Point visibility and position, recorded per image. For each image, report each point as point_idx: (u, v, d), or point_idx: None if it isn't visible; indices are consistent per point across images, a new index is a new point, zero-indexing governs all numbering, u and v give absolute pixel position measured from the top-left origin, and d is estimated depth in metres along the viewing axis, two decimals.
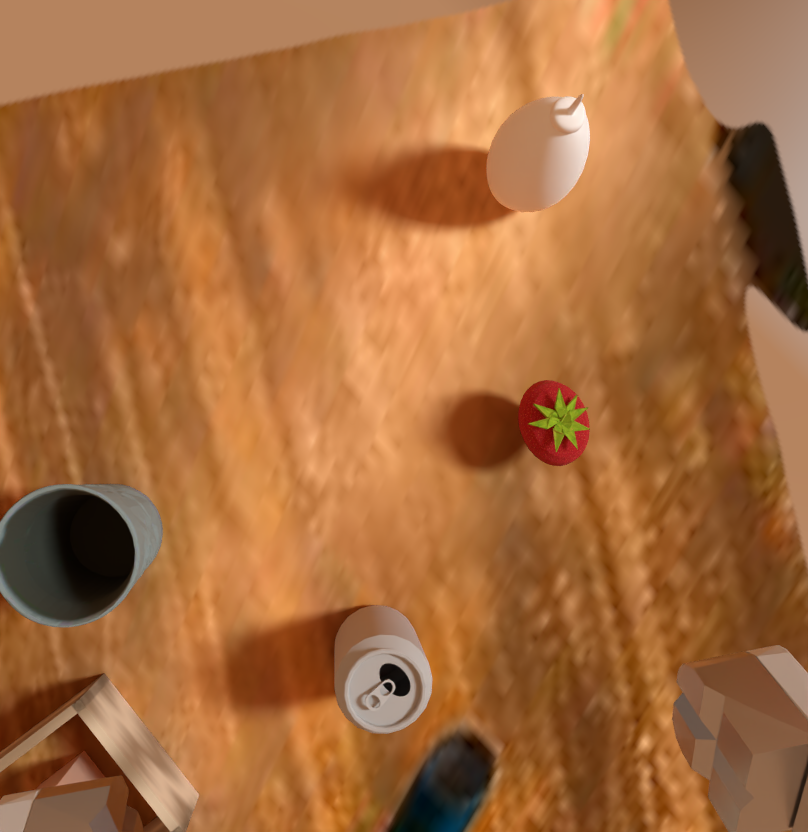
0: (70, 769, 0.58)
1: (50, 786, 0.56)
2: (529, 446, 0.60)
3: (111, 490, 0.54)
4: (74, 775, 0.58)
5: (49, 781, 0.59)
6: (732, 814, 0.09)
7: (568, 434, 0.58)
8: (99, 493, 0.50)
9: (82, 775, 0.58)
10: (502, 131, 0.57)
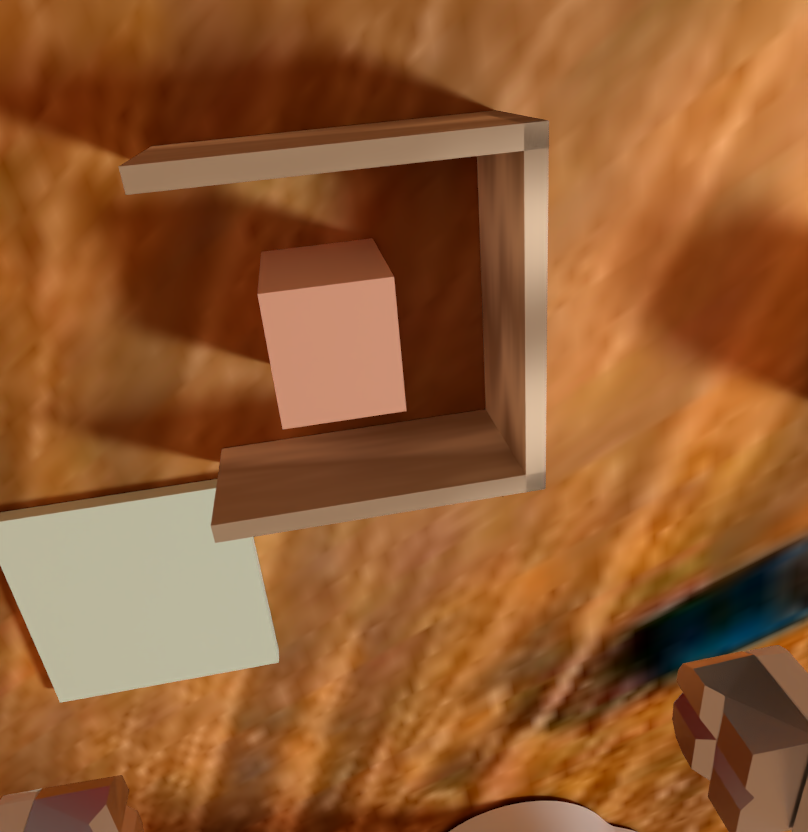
0: (383, 260, 0.26)
1: (350, 270, 0.24)
2: None
3: None
4: None
5: (309, 258, 0.26)
6: (732, 815, 0.09)
7: None
8: None
9: None
10: None
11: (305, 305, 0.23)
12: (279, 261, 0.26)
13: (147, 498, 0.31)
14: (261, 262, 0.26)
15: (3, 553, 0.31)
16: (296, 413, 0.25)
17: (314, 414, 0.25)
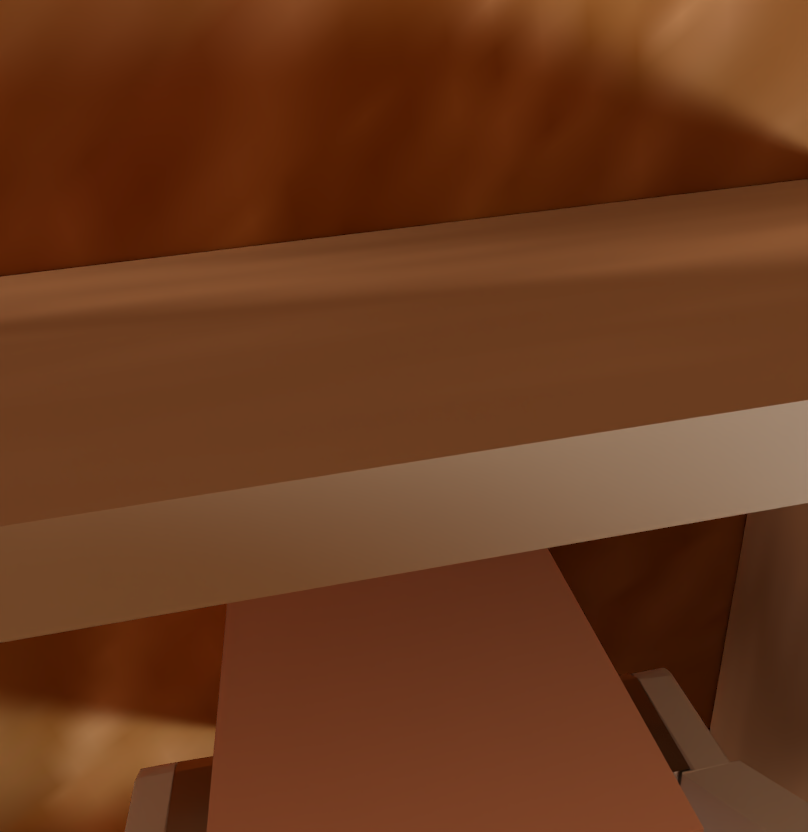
0: (588, 628, 0.09)
1: (513, 726, 0.07)
2: None
3: None
4: None
5: (365, 588, 0.10)
6: None
7: None
8: None
9: None
10: None
11: None
12: (279, 601, 0.09)
13: None
14: None
15: None
16: None
17: None
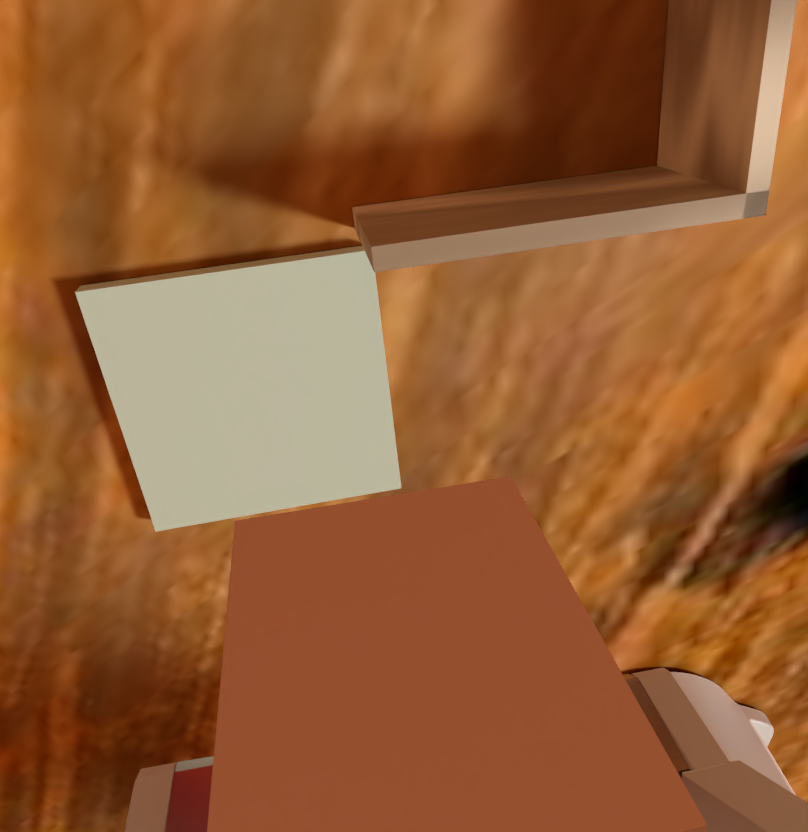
0: (590, 625, 0.09)
1: (515, 723, 0.07)
2: None
3: None
4: None
5: (366, 585, 0.10)
6: None
7: None
8: None
9: None
10: None
11: None
12: (280, 598, 0.09)
13: (266, 264, 0.26)
14: (231, 597, 0.10)
15: (97, 332, 0.26)
16: None
17: None
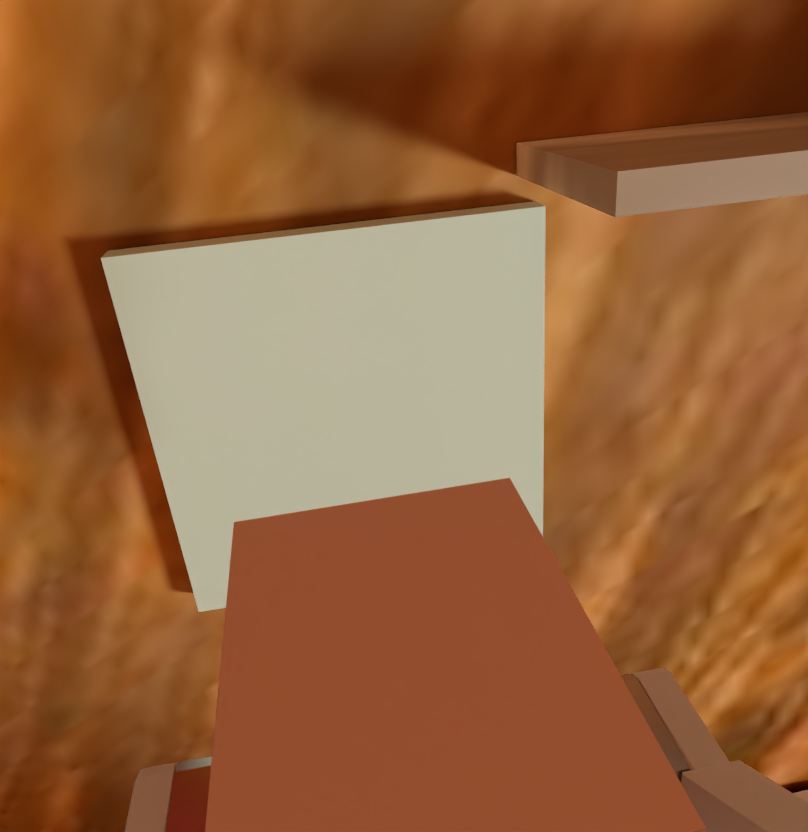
0: (589, 627, 0.09)
1: (514, 725, 0.07)
2: None
3: None
4: None
5: (365, 587, 0.09)
6: None
7: None
8: None
9: None
10: None
11: None
12: (279, 599, 0.09)
13: (389, 224, 0.17)
14: (230, 599, 0.09)
15: (132, 321, 0.17)
16: None
17: None
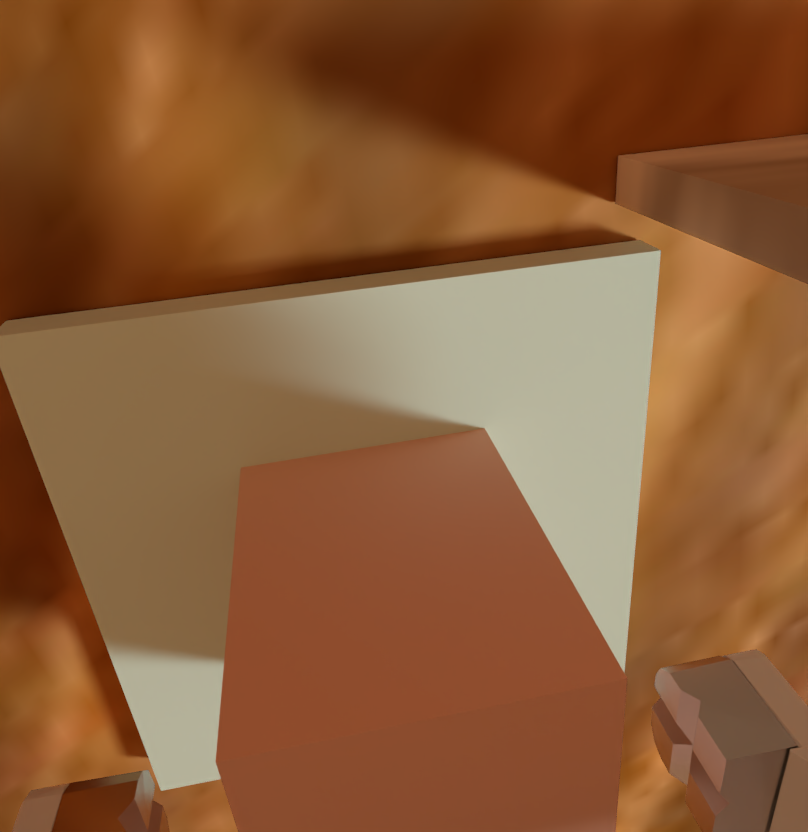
0: (546, 541, 0.10)
1: (477, 612, 0.09)
2: None
3: None
4: None
5: (355, 515, 0.11)
6: (707, 821, 0.09)
7: None
8: None
9: None
10: None
11: (363, 768, 0.08)
12: (281, 524, 0.11)
13: (430, 279, 0.12)
14: (238, 526, 0.11)
15: (44, 427, 0.12)
16: None
17: None
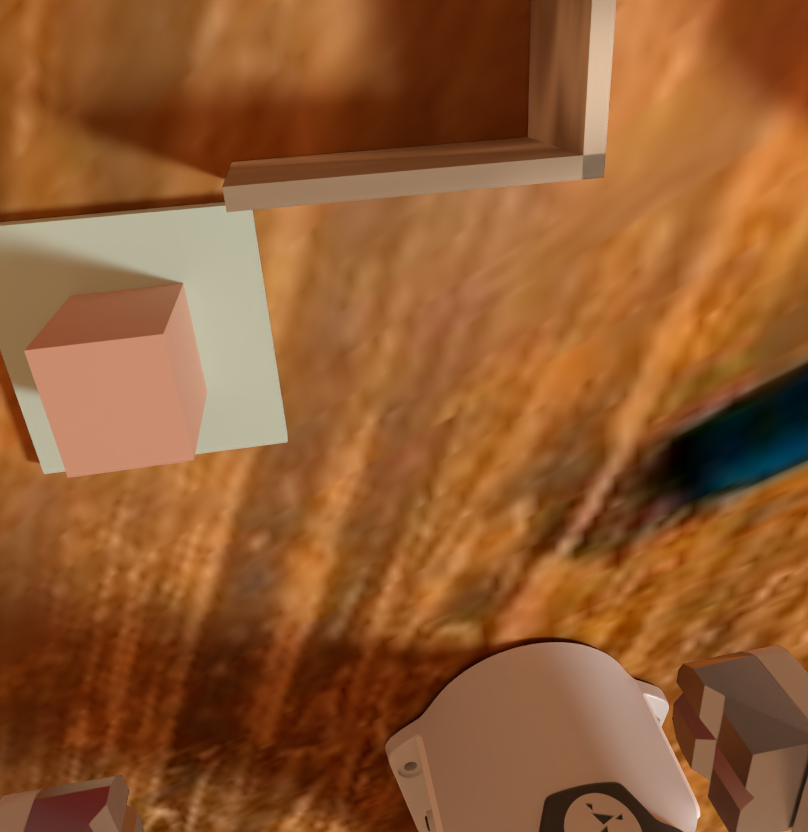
0: (173, 311, 0.26)
1: (130, 324, 0.25)
2: None
3: None
4: (177, 328, 0.26)
5: (107, 306, 0.27)
6: (732, 815, 0.09)
7: None
8: None
9: (182, 332, 0.27)
10: None
11: (75, 361, 0.24)
12: (76, 309, 0.27)
13: (146, 212, 0.28)
14: (59, 310, 0.27)
15: None
16: (80, 462, 0.25)
17: (99, 463, 0.25)
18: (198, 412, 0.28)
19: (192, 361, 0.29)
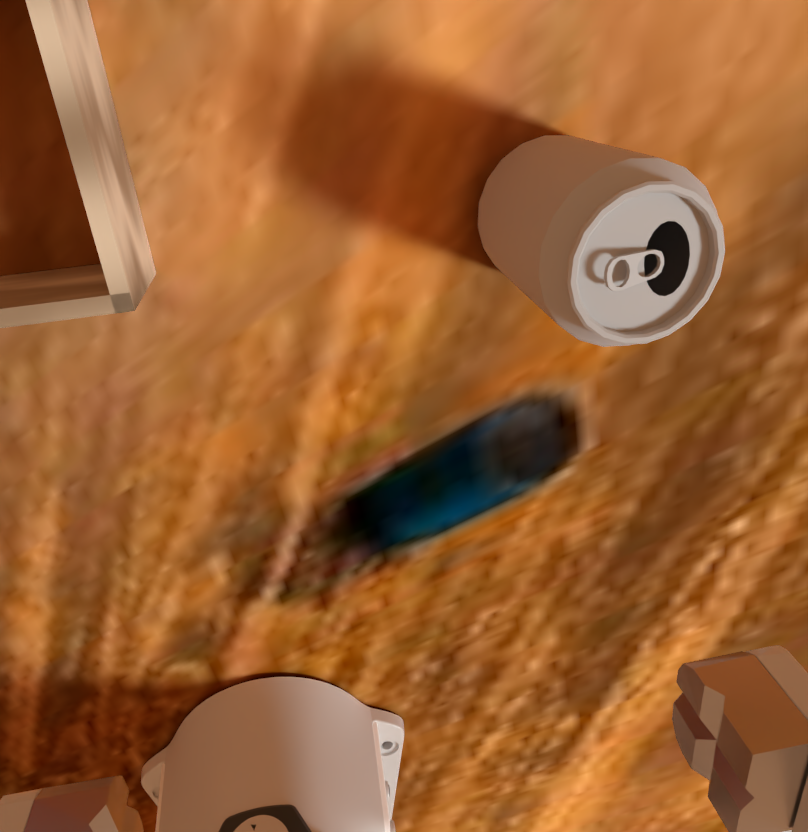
0: None
1: None
2: None
3: None
4: None
5: None
6: (732, 815, 0.09)
7: None
8: None
9: None
10: None
11: None
12: None
13: None
14: None
15: None
16: None
17: None
18: None
19: None
